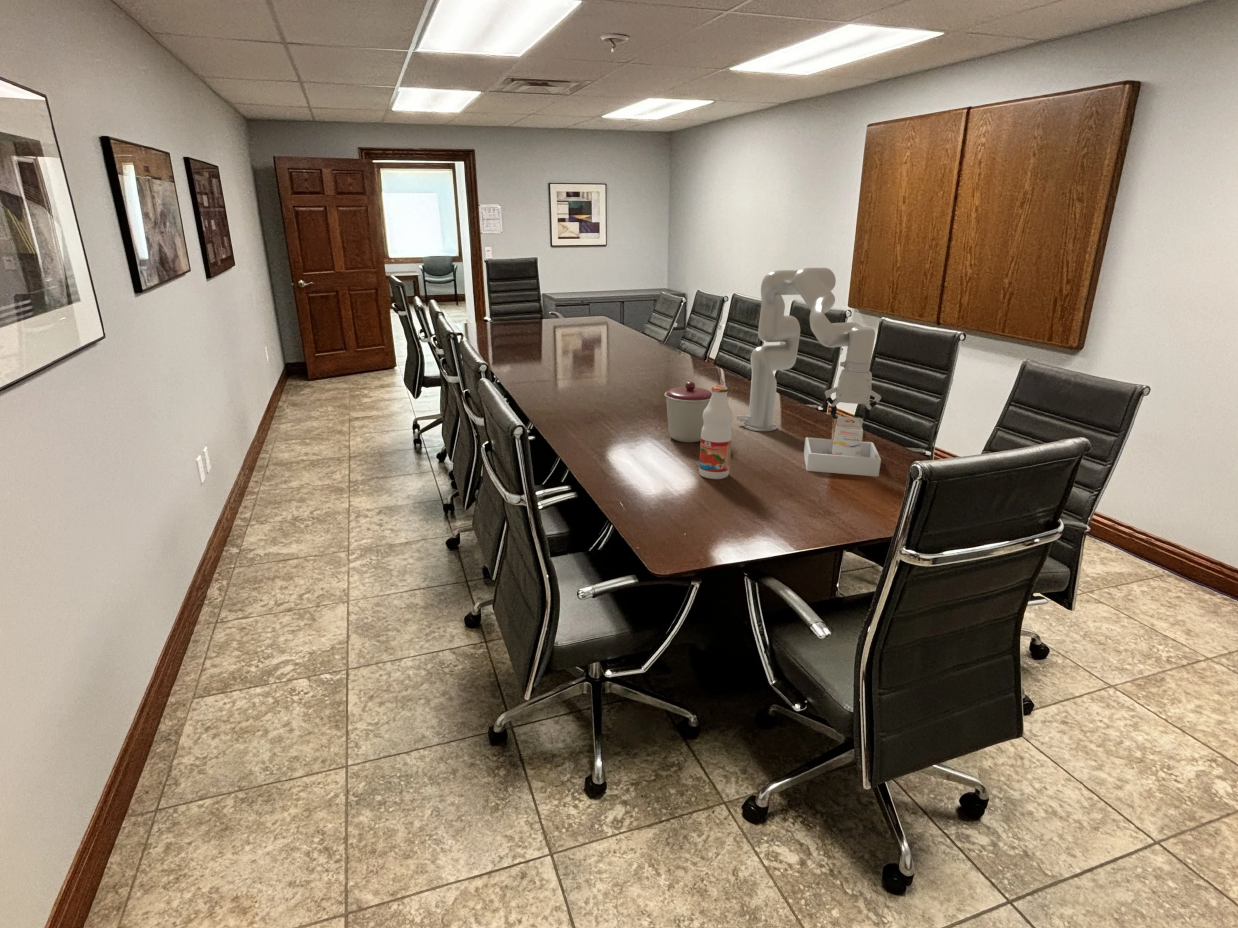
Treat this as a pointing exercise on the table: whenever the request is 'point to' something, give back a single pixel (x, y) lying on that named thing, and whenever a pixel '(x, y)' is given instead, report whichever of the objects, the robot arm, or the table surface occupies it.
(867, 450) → the tray
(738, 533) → the table surface
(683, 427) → the canister
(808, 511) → the table surface
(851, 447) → the ink cartridge box
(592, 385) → the table surface
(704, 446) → the fruit juice
